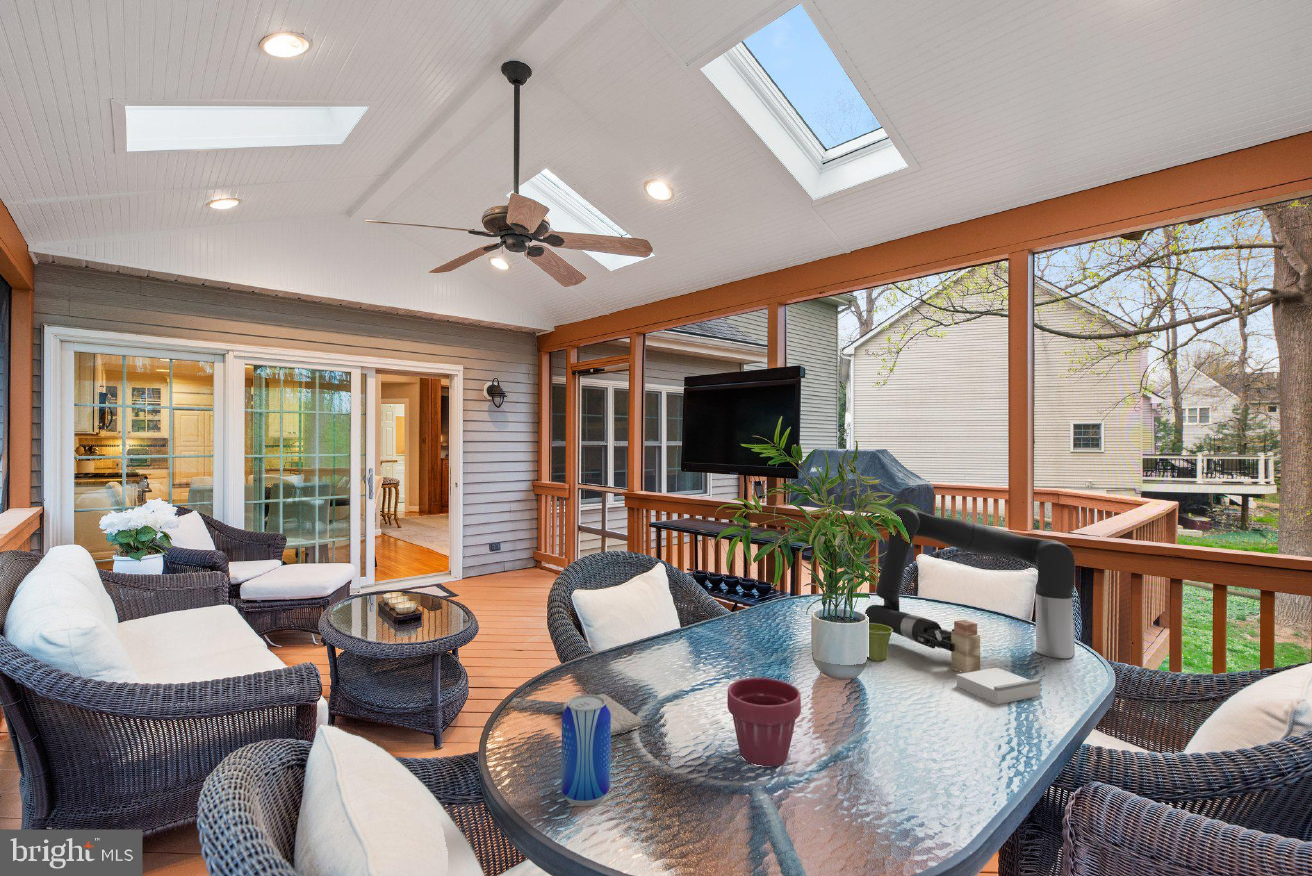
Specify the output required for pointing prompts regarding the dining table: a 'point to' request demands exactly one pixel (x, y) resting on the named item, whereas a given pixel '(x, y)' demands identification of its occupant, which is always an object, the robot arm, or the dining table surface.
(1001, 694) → the dock
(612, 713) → the washcloth
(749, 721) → the plant pot
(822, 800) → the dining table surface
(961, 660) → the beige tall block
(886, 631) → the plant pot
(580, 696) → the beer can
